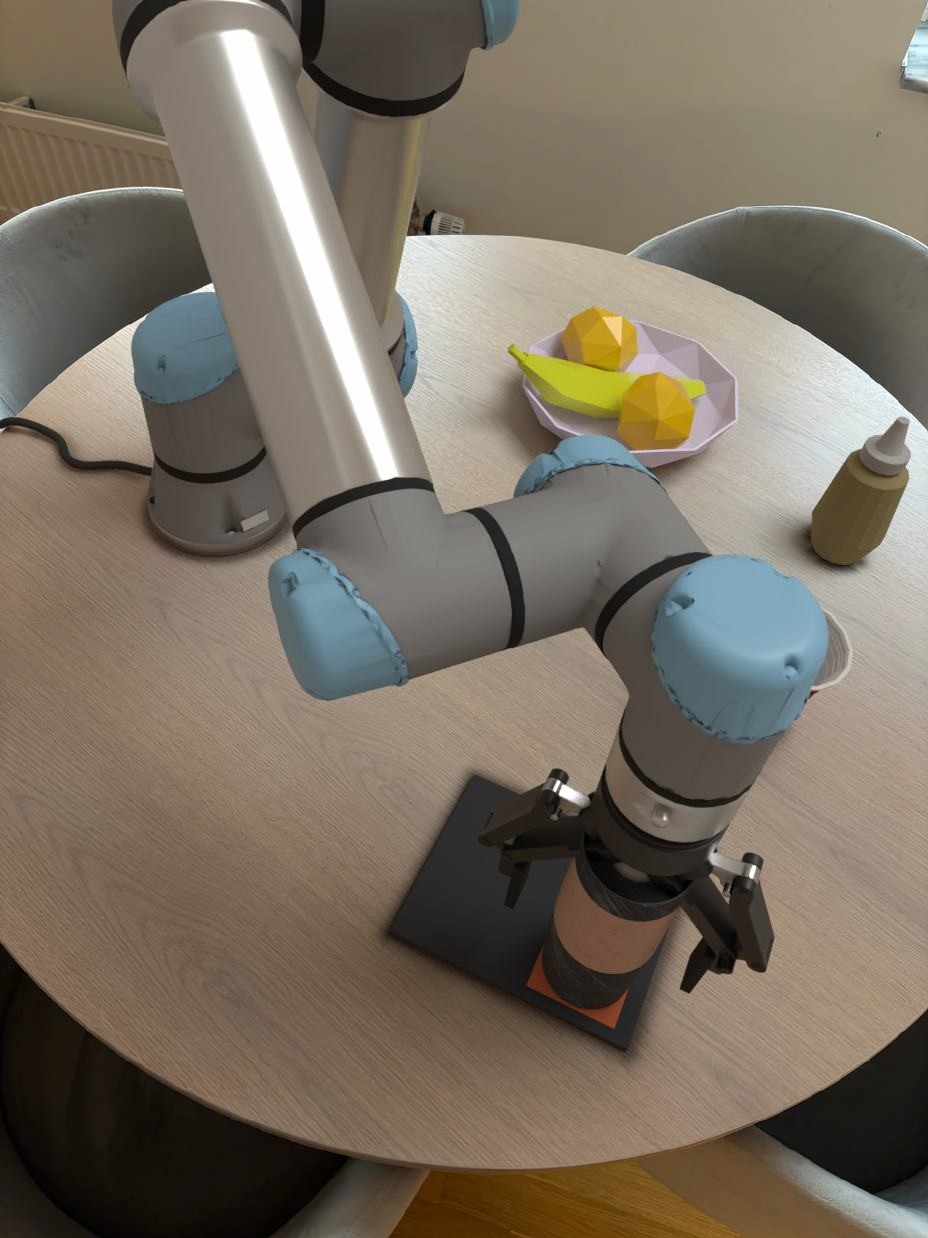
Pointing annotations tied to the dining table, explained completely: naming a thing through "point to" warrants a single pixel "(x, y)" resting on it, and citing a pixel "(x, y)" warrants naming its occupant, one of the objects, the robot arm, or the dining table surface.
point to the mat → (502, 919)
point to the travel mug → (604, 930)
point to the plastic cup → (833, 656)
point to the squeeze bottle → (862, 498)
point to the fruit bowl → (629, 386)
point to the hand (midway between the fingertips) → (600, 932)
